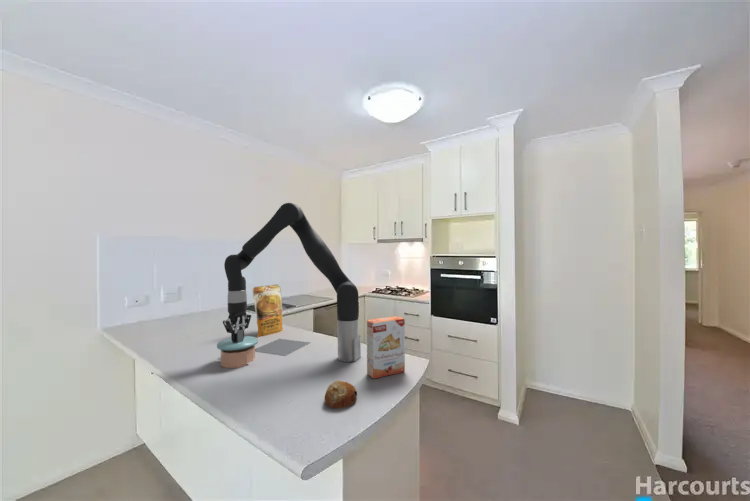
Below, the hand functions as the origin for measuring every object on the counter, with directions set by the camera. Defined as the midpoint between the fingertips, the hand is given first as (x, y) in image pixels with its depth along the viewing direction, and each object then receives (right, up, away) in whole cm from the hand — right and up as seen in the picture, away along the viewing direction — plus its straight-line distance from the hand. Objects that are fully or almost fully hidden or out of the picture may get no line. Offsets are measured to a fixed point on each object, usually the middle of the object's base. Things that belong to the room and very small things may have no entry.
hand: (238, 340), depth 129 cm
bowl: (0, -9, 0) cm, 9 cm away
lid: (0, -2, 0) cm, 2 cm away
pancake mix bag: (-1, -9, +42) cm, 43 cm away
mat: (+14, -9, +17) cm, 24 cm away
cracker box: (+64, -9, -14) cm, 66 cm away
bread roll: (+48, -9, -34) cm, 60 cm away
